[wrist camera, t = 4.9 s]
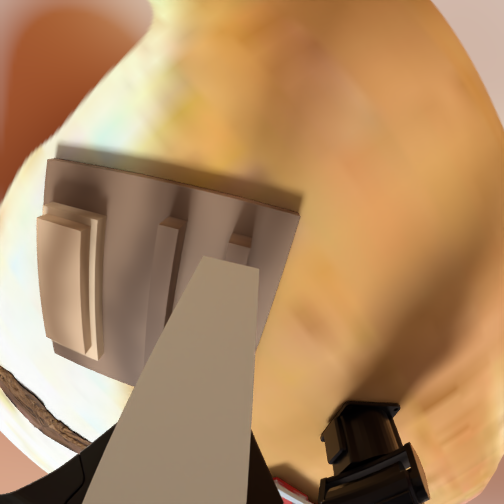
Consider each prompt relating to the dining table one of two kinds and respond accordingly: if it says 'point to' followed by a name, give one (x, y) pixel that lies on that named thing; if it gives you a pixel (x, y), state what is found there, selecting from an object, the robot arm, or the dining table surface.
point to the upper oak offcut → (64, 280)
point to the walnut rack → (163, 251)
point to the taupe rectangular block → (190, 401)
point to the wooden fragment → (39, 414)
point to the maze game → (290, 493)
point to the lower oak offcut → (95, 268)
